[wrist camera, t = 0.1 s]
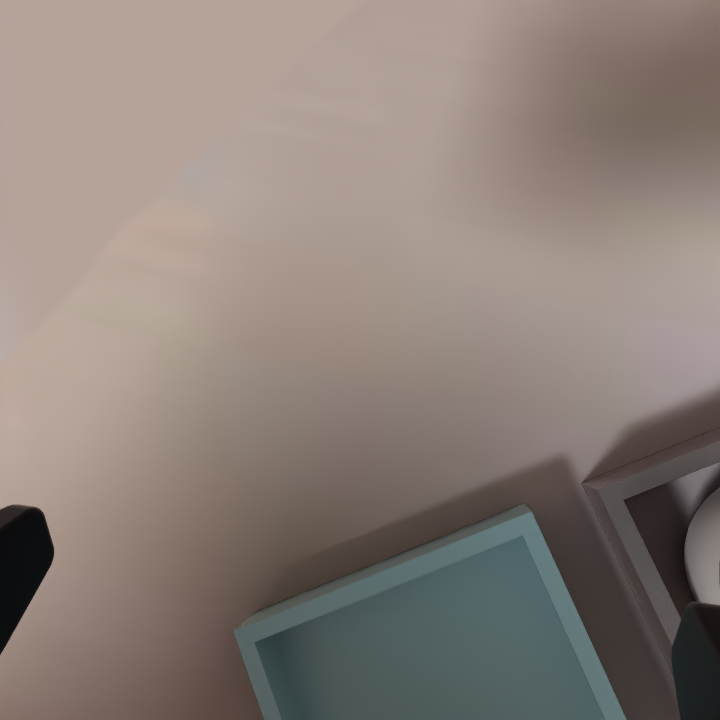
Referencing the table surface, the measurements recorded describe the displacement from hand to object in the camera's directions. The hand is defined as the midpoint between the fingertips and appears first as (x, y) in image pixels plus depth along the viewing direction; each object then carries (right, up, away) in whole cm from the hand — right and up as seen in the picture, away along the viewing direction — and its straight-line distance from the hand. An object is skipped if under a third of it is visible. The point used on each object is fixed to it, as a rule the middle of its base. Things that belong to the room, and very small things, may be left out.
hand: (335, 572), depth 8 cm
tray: (+4, -10, +13) cm, 17 cm away
